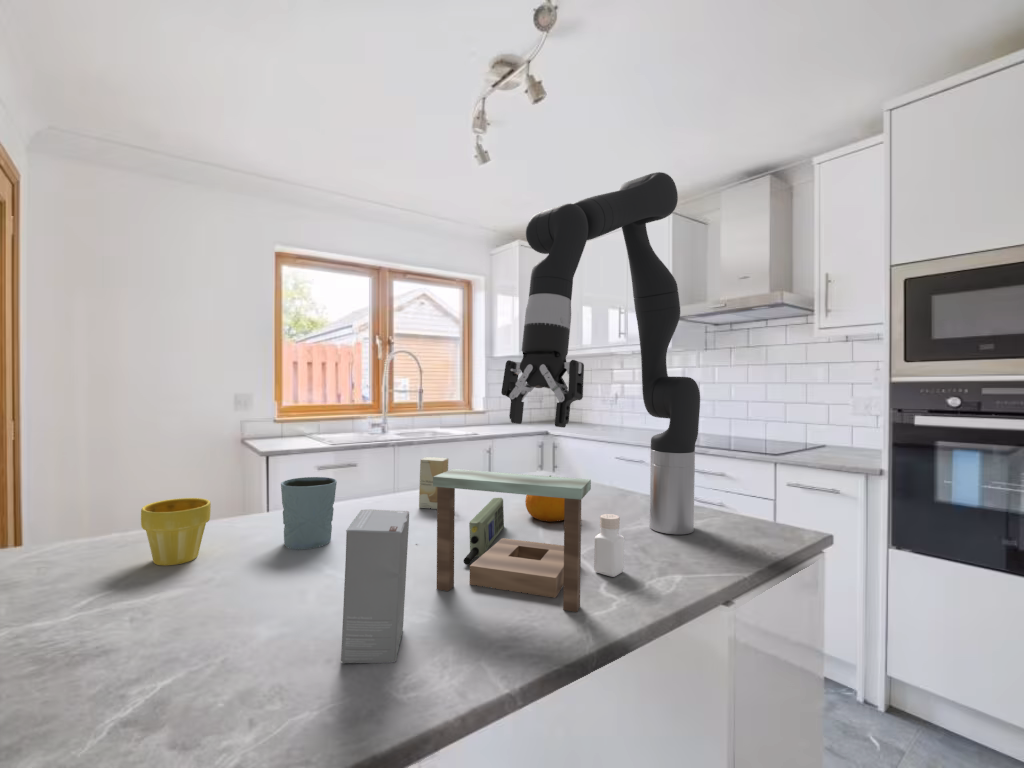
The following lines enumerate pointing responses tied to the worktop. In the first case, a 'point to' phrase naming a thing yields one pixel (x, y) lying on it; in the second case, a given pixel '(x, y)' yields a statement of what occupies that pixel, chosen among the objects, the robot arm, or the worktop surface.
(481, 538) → the handheld radio
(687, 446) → the robot arm
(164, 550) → the plant pot
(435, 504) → the skincare box
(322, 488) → the teal cup
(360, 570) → the skincare box
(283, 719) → the worktop surface
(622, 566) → the pepper shaker
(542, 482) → the stand
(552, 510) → the fruit
